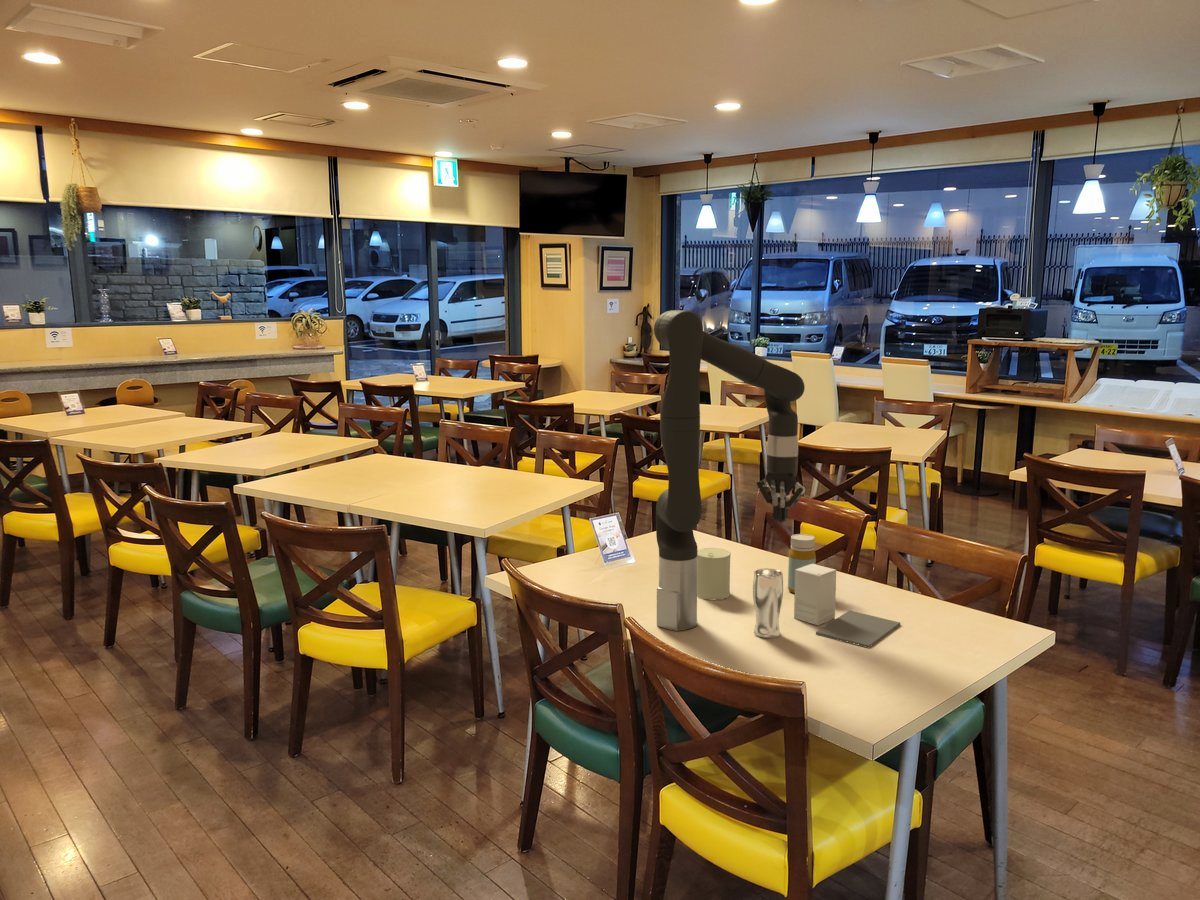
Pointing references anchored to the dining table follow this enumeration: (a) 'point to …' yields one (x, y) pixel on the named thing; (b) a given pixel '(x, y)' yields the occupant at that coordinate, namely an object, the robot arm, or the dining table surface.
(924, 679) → the dining table surface
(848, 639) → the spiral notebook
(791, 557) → the bottle
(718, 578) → the can
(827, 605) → the supplement box
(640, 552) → the dining table surface
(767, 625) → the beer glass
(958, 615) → the dining table surface
